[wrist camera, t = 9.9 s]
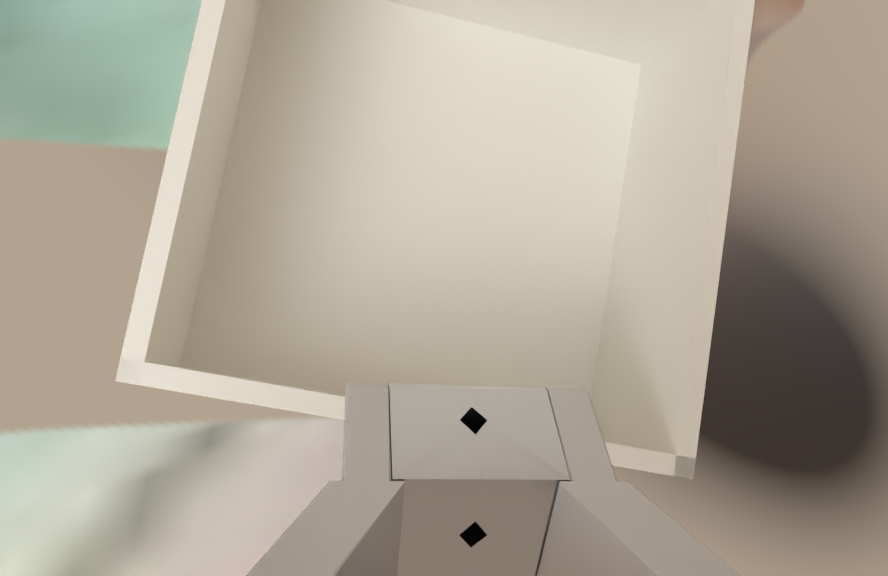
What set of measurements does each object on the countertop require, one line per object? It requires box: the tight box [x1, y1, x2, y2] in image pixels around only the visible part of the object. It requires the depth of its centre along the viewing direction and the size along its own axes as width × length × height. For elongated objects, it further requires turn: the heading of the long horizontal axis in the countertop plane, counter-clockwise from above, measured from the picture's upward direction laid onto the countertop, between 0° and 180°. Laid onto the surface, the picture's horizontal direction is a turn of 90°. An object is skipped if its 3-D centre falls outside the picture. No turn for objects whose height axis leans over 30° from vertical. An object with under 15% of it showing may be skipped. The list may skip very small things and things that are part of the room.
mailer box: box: [115, 0, 755, 479], centre depth 28 cm, size 16×16×8 cm
